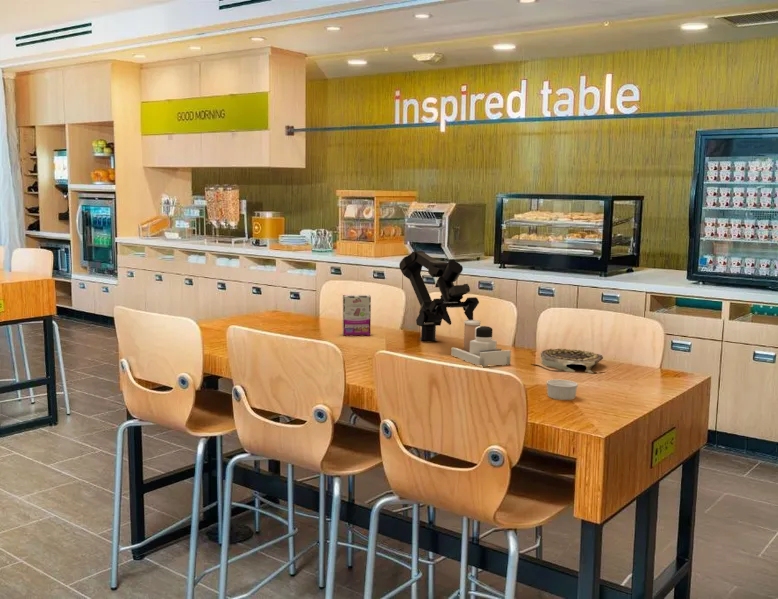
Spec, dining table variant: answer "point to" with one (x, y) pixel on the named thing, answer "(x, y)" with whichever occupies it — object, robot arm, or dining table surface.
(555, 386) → the ramekin
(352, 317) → the candy bar box
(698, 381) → the dining table surface
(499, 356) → the lane
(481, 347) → the medicine bottle
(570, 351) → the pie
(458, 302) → the robot arm
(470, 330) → the spice jar
